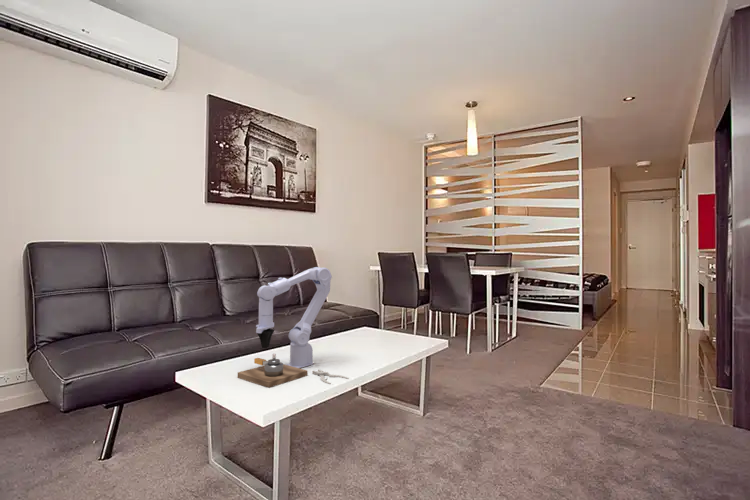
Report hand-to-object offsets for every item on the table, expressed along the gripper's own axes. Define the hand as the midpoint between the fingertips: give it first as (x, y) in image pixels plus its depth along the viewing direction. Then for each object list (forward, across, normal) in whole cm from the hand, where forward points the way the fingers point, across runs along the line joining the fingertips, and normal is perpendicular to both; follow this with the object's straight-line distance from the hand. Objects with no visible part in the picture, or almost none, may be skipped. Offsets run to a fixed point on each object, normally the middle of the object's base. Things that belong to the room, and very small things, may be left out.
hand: (265, 347), depth 168 cm
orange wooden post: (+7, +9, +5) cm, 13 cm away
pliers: (+10, +5, +28) cm, 30 cm away
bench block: (+9, +8, +6) cm, 14 cm away
